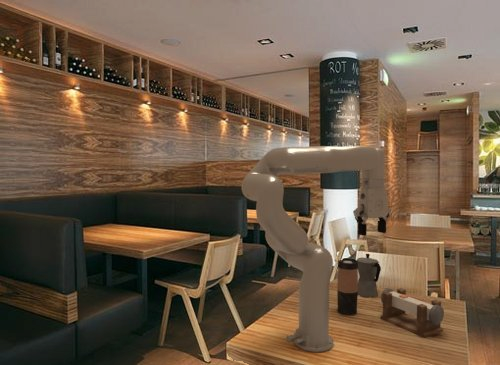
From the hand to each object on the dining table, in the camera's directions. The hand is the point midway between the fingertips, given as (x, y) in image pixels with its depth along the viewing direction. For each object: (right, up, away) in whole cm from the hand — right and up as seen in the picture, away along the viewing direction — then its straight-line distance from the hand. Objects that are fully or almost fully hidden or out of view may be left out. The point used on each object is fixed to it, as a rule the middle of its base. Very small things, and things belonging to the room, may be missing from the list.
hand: (372, 233), depth 129 cm
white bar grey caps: (+15, -29, +5) cm, 33 cm away
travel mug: (-4, -33, +17) cm, 37 cm away
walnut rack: (+15, -33, +5) cm, 37 cm away
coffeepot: (+10, -32, +36) cm, 49 cm away
